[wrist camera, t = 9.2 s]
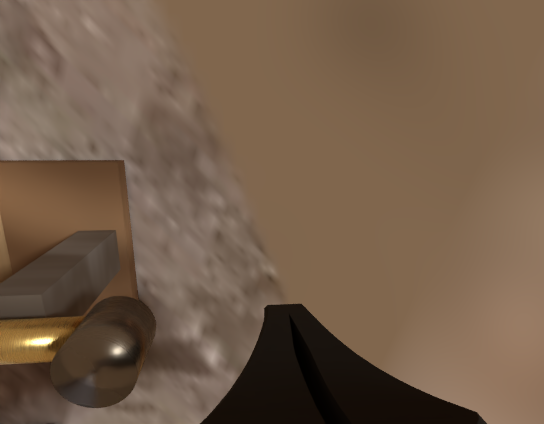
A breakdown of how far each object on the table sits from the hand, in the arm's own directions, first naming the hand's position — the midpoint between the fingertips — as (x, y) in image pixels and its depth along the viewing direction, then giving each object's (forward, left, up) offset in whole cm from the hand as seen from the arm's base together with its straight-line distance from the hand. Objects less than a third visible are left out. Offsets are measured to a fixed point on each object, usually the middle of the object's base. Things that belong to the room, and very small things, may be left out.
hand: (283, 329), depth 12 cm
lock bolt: (0, +9, -1) cm, 9 cm away
